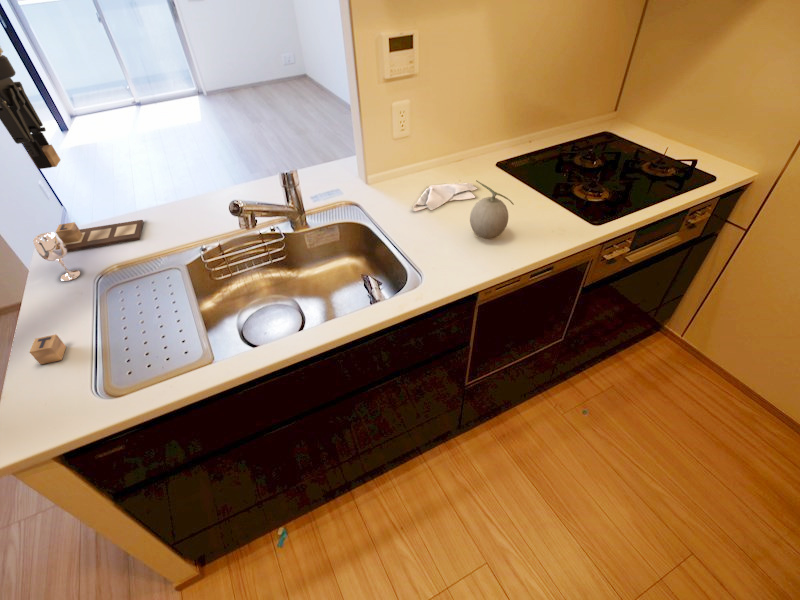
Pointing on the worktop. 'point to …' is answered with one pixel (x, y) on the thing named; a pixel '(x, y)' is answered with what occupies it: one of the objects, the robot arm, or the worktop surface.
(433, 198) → the cloth
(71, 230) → the tile
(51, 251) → the wineglass
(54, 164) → the tile
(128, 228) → the board
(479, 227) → the fruit
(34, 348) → the tile
